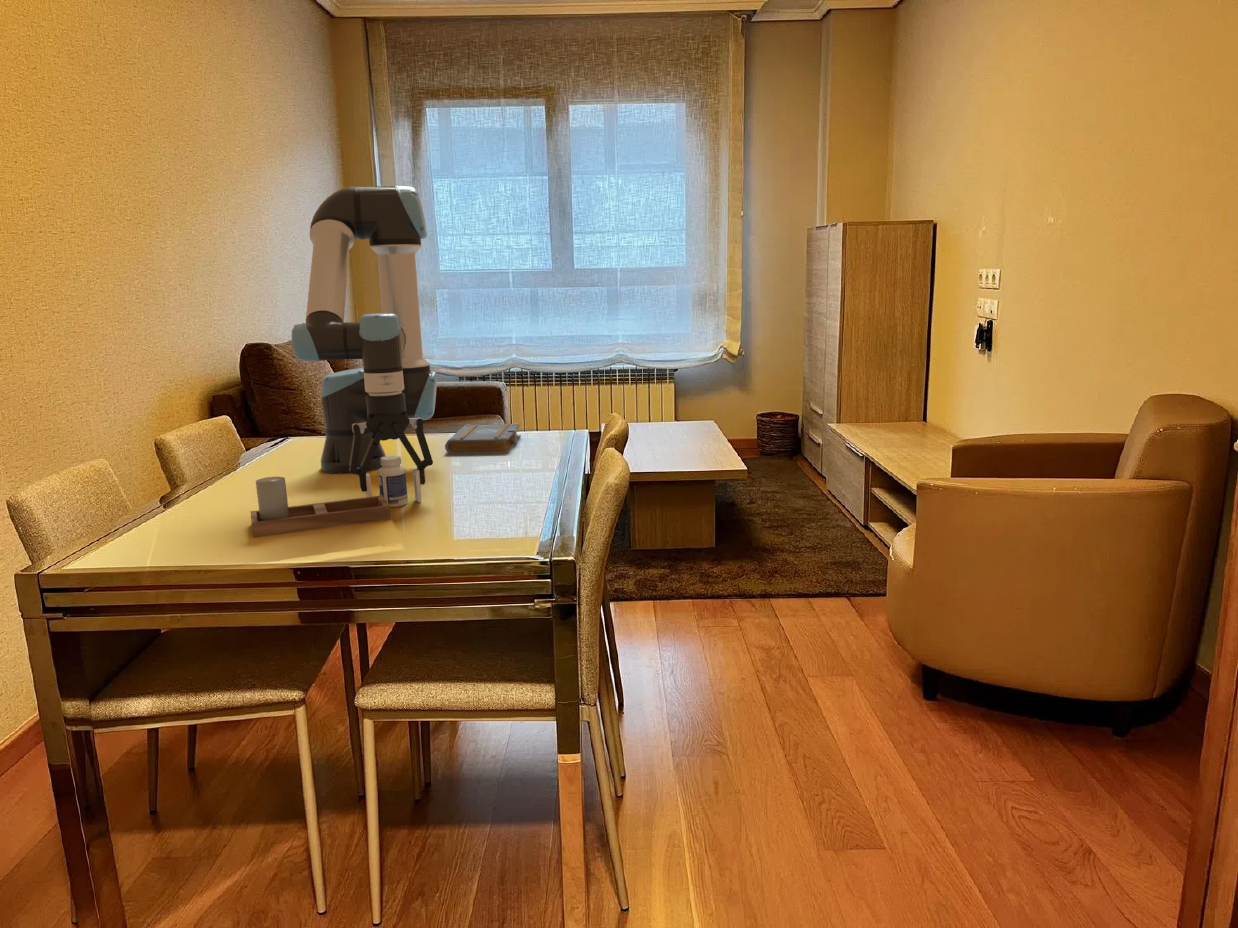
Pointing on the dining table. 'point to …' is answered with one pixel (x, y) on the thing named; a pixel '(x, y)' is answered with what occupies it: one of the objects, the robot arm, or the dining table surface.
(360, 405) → the robot arm
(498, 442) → the book
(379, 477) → the pill bottle
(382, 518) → the rack
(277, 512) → the grey rounded cylinder
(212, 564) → the dining table surface
